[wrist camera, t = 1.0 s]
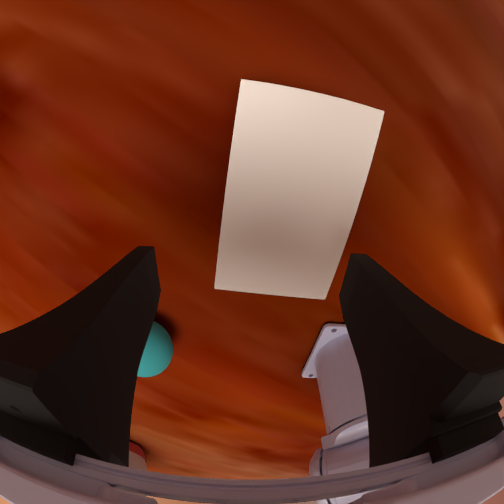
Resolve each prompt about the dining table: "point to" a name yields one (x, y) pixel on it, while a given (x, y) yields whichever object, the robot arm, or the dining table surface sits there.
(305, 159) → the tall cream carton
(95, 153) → the dining table surface
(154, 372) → the ball
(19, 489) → the robot arm
